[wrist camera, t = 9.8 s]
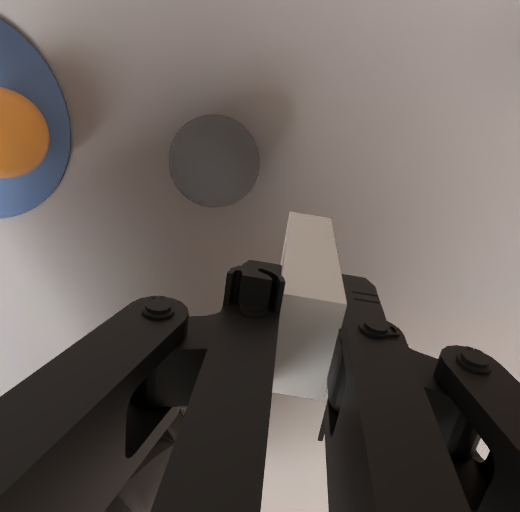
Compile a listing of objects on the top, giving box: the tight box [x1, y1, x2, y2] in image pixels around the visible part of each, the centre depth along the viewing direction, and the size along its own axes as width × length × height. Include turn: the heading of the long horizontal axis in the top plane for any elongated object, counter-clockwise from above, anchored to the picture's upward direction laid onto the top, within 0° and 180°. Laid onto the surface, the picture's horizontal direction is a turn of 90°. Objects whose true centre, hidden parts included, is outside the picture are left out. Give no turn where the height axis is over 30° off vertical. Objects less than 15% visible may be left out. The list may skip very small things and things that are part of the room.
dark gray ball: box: [169, 115, 259, 207], centre depth 27 cm, size 6×6×6 cm
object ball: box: [0, 87, 50, 178], centre depth 28 cm, size 6×6×6 cm
